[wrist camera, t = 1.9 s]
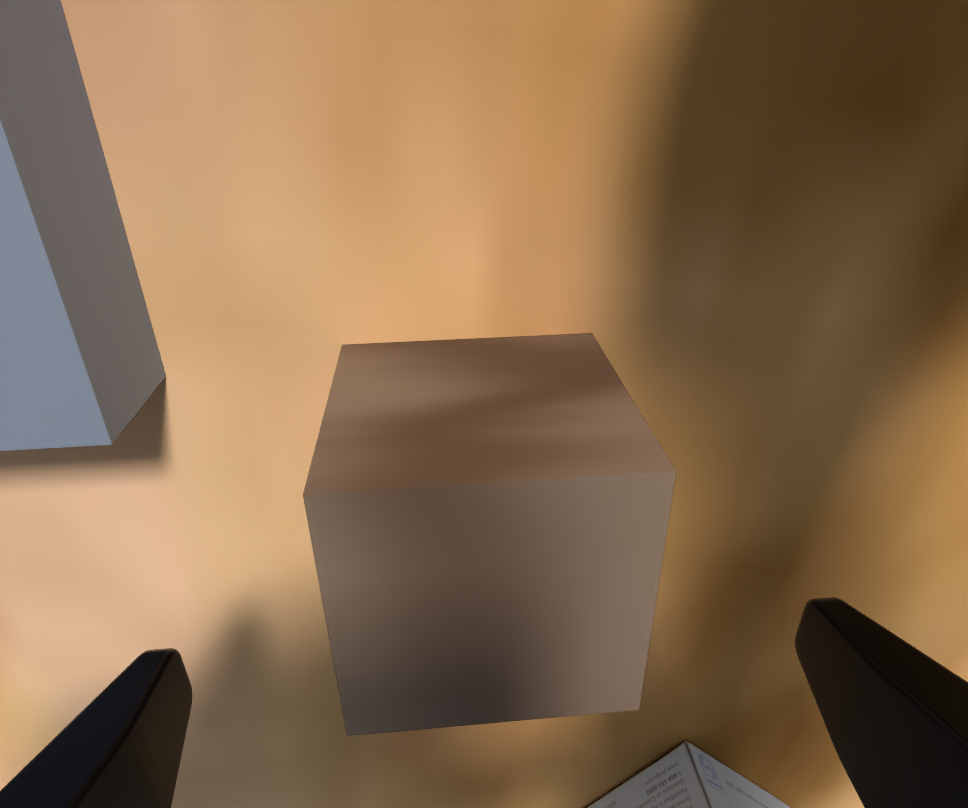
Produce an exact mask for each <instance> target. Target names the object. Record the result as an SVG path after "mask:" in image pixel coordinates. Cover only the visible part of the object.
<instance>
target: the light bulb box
mask: <svg viewBox="0 0 968 808" xmlns="http://www.w3.org/2000/svg"><path fill="white" fill-rule="evenodd" d="M587 808H790V807H789V806H788V805H786V804H785V803H783V802H782V801H780V800H779V799H777V798H776V797H774V796H773V795H771V794H770V793H768V792H766V791H765V790H763V789H761V788H760V787H758V786H757V785H755V784H754V783H752V782H751V781H749V780H747V779H746V778H744V777H743V776H741V775H740V774H738V773H736V772H735V771H733V770H731V769H730V768H728V767H727V766H726V765H724V764H722V763H721V762H719V761H717V760H716V759H714V758H713V757H711V756H709V755H708V754H706V753H705V752H703V751H702V750H700V749H698V748H697V747H695V746H694V745H692V744H690V743H689V742H687V741H684V742H683V743H682V744H681V745H680V746H678V747H677V748H676V749H674V750H673V751H671V752H670V753H668V754H667V755H665V756H664V757H663V758H661V759H660V760H658V761H657V762H655V763H654V764H652V765H651V766H649V767H648V768H646V769H645V770H643V771H642V772H640V773H639V774H637V775H635V776H634V777H632V778H631V779H629V780H628V781H626V782H625V783H623V784H622V785H620V786H619V787H617V788H616V789H614V790H613V791H611V792H610V793H608V794H607V795H605V796H604V797H602V798H601V799H599V800H598V801H596V802H595V803H593V804H592V805H590V806H589V807H587Z"/></svg>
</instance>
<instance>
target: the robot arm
mask: <svg viewBox="0 0 968 808" xmlns="http://www.w3.org/2000/svg"><path fill="white" fill-rule="evenodd" d="M795 648H796V652H797V655H798V658H799V660H800V663H801V665H802V668H803V670H804V673H805V675H806V678H807V680H808V683H809V685H810V688H811V690H812V693H813V695H814V698H815V700H816V703H817V705H818V708H819V710H820V713H821V715H822V718H823V720H824V723H825V725H826V728H827V730H828V733H829V735H830V738H831V740H832V742H833V745H834V747H835V749H836V752H837V754H838V756H839V758H840V760H841V762H842V764H843V766H844V768H845V770H846V772H847V775H848V776H849V778H850V780H851V782H852V784H853V786H854V788H855V790H856V792H857V794H858V796H859V798H860V800H861V802H862V803H863V805H864V807H865V808H968V682H967V681H965V680H964V679H962V678H961V677H959V676H958V675H956V674H954V673H953V672H951V671H950V670H948V669H947V668H945V667H944V666H942V665H941V664H939V663H938V662H936V661H935V660H933V659H931V658H930V657H928V656H927V655H925V654H924V653H922V652H921V651H919V650H918V649H916V648H915V647H913V646H912V645H910V644H909V643H907V642H905V641H904V640H902V639H901V638H899V637H898V636H896V635H895V634H893V633H892V632H890V631H889V630H887V629H886V628H884V627H882V626H881V625H879V624H878V623H876V622H875V621H873V620H872V619H870V618H869V617H867V616H866V615H864V614H863V613H861V612H859V611H858V610H856V609H855V608H853V607H852V606H850V605H849V604H847V603H846V602H844V601H842V600H840V599H838V598H818V599H811V600H809V601H808V602H807V603H806V605H805V607H804V611H803V614H802V617H801V620H800V623H799V627H798V630H797V633H796V637H795ZM191 705H192V687H191V684H190V681H189V678H188V675H187V672H186V669H185V666H184V664H183V661H182V658H181V655H180V653H179V652H178V651H177V650H176V649H172V648H169V649H156V650H148V651H145V652H144V653H142V654H141V655H140V656H138V657H137V658H136V659H135V660H134V661H133V662H132V663H131V664H130V665H129V666H128V667H127V668H126V669H125V670H124V671H123V672H122V673H121V674H120V675H119V676H118V677H117V678H116V679H115V680H114V681H113V682H112V683H111V684H110V685H109V686H108V687H107V688H105V689H104V690H103V691H102V692H101V693H100V694H99V695H98V696H97V697H96V698H95V699H94V700H93V701H92V702H91V703H90V704H89V705H88V706H87V707H86V708H85V709H84V710H83V711H82V712H81V713H80V714H79V715H78V716H77V717H76V718H75V719H74V720H73V721H72V722H71V723H70V724H68V725H67V726H66V727H65V728H64V729H63V730H62V731H61V732H60V733H59V734H58V735H57V736H56V737H55V738H54V739H53V740H52V741H51V742H50V743H49V744H48V745H47V746H46V747H45V748H44V749H43V750H42V751H41V752H40V753H39V754H38V755H37V756H36V757H35V758H34V759H33V760H31V761H30V762H29V763H28V764H27V765H26V766H25V767H24V768H23V769H22V770H21V771H20V772H19V773H18V774H17V775H16V776H15V777H14V778H13V779H12V780H11V781H10V782H9V783H8V784H7V785H6V786H5V787H4V788H3V789H2V790H1V791H0V808H171V805H172V800H173V795H174V790H175V785H176V780H177V775H178V770H179V765H180V760H181V755H182V750H183V745H184V740H185V735H186V730H187V725H188V721H189V716H190V711H191Z"/></svg>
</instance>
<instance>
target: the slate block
mask: <svg viewBox="0 0 968 808" xmlns="http://www.w3.org/2000/svg"><path fill="white" fill-rule="evenodd" d="M165 377H166V374H165V371H164V367H163V363H162V360H161V356H160V353H159V349H158V346H157V342H156V338H155V335H154V331H153V328H152V324H151V321H150V317H149V314H148V310H147V306H146V303H145V299H144V296H143V292H142V289H141V285H140V281H139V278H138V274H137V271H136V267H135V264H134V260H133V257H132V253H131V249H130V246H129V242H128V239H127V235H126V232H125V228H124V224H123V221H122V217H121V214H120V210H119V207H118V203H117V199H116V196H115V192H114V189H113V185H112V182H111V178H110V175H109V171H108V167H107V164H106V160H105V157H104V153H103V150H102V146H101V142H100V139H99V135H98V132H97V128H96V125H95V121H94V118H93V114H92V110H91V107H90V103H89V100H88V96H87V93H86V89H85V85H84V82H83V78H82V75H81V71H80V68H79V64H78V60H77V57H76V53H75V50H74V46H73V43H72V39H71V36H70V32H69V28H68V25H67V21H66V18H65V14H64V11H63V7H62V3H61V0H0V451H10V450H27V449H45V448H62V447H80V446H97V445H112V444H113V443H114V441H115V440H116V439H117V438H118V436H119V435H120V434H121V433H122V431H123V430H124V429H125V427H126V426H127V425H128V424H129V422H130V421H131V420H132V419H133V417H134V416H135V415H136V413H137V412H138V411H139V410H140V408H141V407H142V406H143V405H144V403H145V402H146V401H147V399H148V398H149V397H150V396H151V394H152V393H153V392H154V391H155V389H156V388H157V387H158V385H159V384H160V383H161V382H162V380H163V379H164V378H165Z"/></svg>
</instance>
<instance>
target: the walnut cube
mask: <svg viewBox="0 0 968 808" xmlns="http://www.w3.org/2000/svg"><path fill="white" fill-rule="evenodd" d="M675 477H676V470H675V468H674V467H673V465H672V463H671V462H670V460H669V458H668V457H667V455H666V454H665V452H664V450H663V449H662V447H661V445H660V444H659V442H658V440H657V439H656V437H655V436H654V434H653V432H652V431H651V429H650V427H649V426H648V424H647V422H646V421H645V419H644V418H643V416H642V414H641V413H640V411H639V409H638V408H637V406H636V405H635V403H634V401H633V400H632V398H631V396H630V395H629V393H628V391H627V390H626V388H625V387H624V385H623V383H622V382H621V380H620V378H619V377H618V375H617V373H616V372H615V370H614V369H613V367H612V365H611V364H610V362H609V360H608V359H607V357H606V355H605V354H604V352H603V351H602V349H601V347H600V346H599V344H598V342H597V341H596V339H595V337H594V336H593V334H592V333H583V334H562V335H540V336H519V337H498V338H476V339H455V340H434V341H412V342H391V343H370V344H348V345H342V347H341V351H340V355H339V359H338V363H337V367H336V370H335V374H334V378H333V382H332V386H331V389H330V393H329V397H328V401H327V405H326V409H325V412H324V416H323V420H322V424H321V428H320V432H319V435H318V439H317V443H316V447H315V451H314V455H313V458H312V462H311V466H310V470H309V474H308V478H307V481H306V485H305V489H304V493H303V498H304V503H305V509H306V514H307V520H308V525H309V531H310V536H311V541H312V547H313V552H314V558H315V563H316V569H317V574H318V580H319V585H320V591H321V596H322V601H323V607H324V612H325V618H326V623H327V629H328V634H329V640H330V645H331V651H332V656H333V661H334V667H335V672H336V678H337V683H338V689H339V694H340V700H341V705H342V711H343V716H344V721H345V727H346V732H347V736H353V735H364V734H375V733H386V732H397V731H408V730H420V729H431V728H442V727H453V726H464V725H476V724H487V723H498V722H509V721H520V720H532V719H543V718H554V717H565V716H576V715H588V714H599V713H610V712H621V711H632V710H639V706H640V700H641V694H642V687H643V681H644V675H645V668H646V662H647V655H648V649H649V643H650V636H651V630H652V624H653V617H654V611H655V604H656V598H657V592H658V585H659V579H660V573H661V566H662V560H663V553H664V547H665V541H666V534H667V528H668V522H669V515H670V509H671V503H672V496H673V490H674V483H675Z"/></svg>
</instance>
